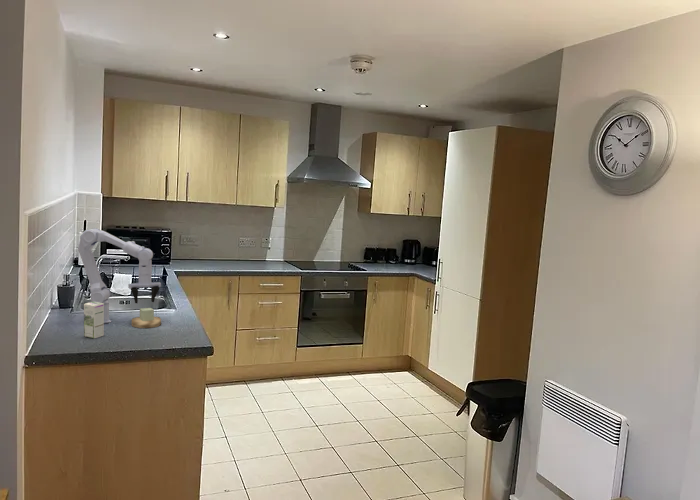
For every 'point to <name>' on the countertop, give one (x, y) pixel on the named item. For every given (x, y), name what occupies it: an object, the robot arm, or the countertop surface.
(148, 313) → the cube
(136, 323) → the base
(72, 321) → the countertop surface
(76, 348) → the countertop surface
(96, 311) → the syrup box
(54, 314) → the countertop surface
